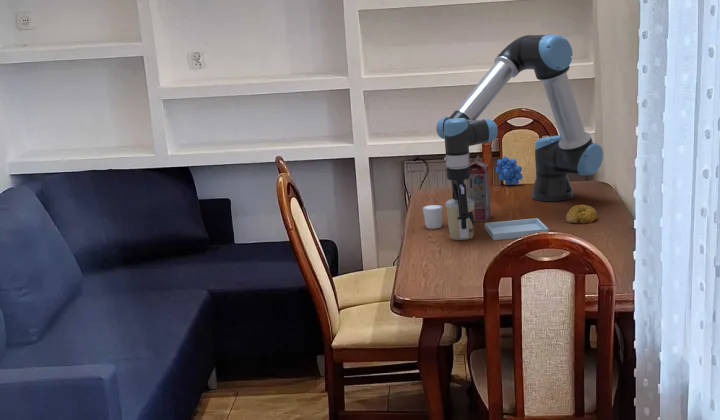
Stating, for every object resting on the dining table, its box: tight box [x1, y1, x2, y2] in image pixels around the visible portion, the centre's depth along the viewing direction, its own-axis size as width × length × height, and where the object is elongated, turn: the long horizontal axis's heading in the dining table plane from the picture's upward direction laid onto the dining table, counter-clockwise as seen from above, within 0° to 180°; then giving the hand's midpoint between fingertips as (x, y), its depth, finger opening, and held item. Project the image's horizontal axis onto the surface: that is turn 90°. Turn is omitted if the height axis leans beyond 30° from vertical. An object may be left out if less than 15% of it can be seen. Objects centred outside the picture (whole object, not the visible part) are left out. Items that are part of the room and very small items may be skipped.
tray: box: [484, 218, 550, 241], centre depth 279 cm, size 18×14×2 cm
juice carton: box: [465, 155, 491, 222], centre depth 297 cm, size 7×7×22 cm
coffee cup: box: [445, 198, 475, 241], centre depth 277 cm, size 9×9×12 cm
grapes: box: [494, 156, 524, 186], centre depth 344 cm, size 12×7×12 cm, turn 57°
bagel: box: [565, 204, 598, 224], centre depth 286 cm, size 10×11×5 cm
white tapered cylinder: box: [422, 204, 443, 230], centre depth 293 cm, size 7×7×7 cm
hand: (461, 234), depth 278 cm, fingers closed on coffee cup, 8 cm apart
